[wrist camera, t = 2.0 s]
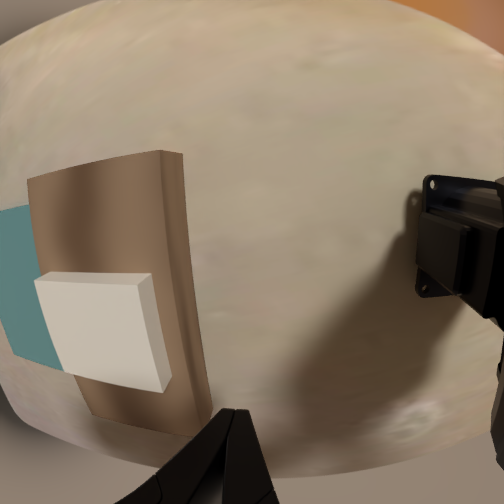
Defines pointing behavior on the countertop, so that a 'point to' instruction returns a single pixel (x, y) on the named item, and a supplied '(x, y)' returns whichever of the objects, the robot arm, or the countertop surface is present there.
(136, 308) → the tile
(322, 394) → the countertop surface
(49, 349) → the mat
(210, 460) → the robot arm
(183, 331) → the wooden board
